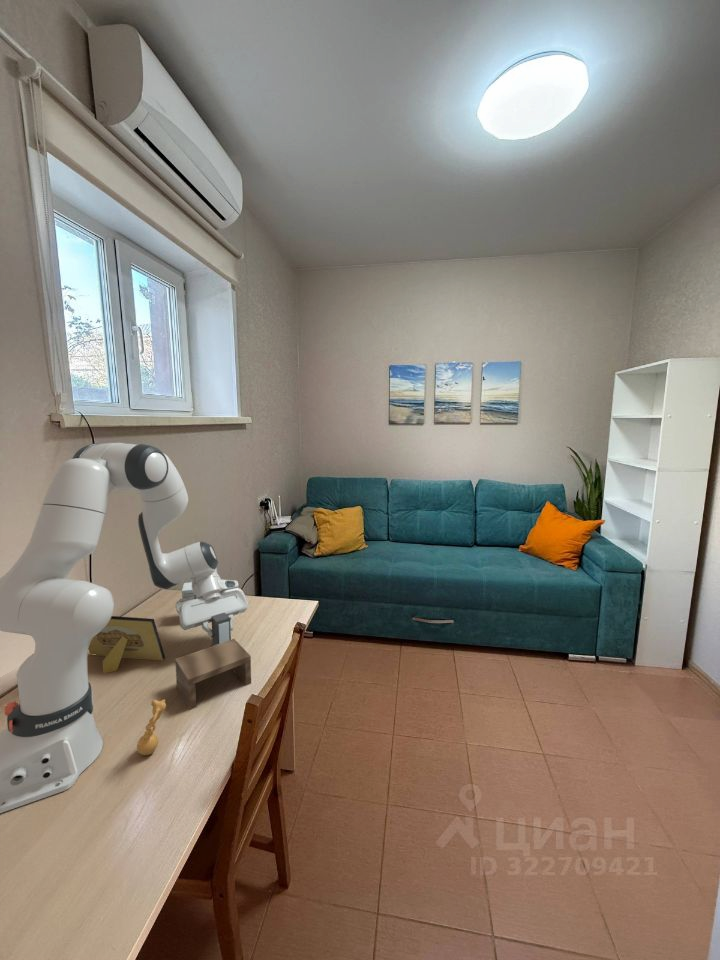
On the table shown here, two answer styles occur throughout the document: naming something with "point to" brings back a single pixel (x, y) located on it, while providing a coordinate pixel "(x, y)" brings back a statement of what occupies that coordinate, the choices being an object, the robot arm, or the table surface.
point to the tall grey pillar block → (221, 628)
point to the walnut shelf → (211, 667)
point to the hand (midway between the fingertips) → (221, 633)
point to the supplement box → (187, 590)
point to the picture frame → (127, 641)
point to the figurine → (151, 730)
